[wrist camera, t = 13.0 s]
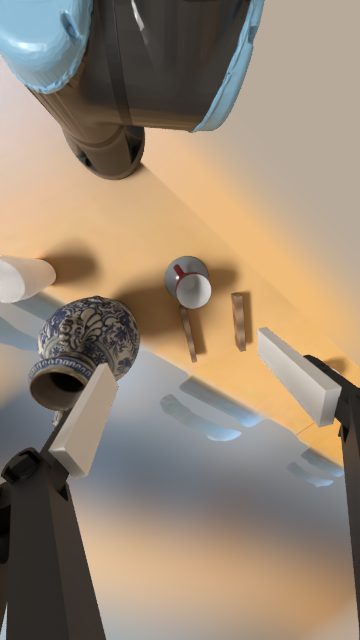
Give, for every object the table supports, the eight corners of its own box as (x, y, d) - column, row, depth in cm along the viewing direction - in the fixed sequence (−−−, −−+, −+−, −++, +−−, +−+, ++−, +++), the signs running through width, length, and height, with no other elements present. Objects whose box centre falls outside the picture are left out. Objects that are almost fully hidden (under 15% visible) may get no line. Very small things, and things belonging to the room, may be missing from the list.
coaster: (159, 262, 44) (159, 262, 43) (204, 251, 44) (204, 251, 43) (170, 304, 49) (170, 304, 48) (210, 295, 49) (211, 295, 48)
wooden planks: (179, 305, 49) (180, 310, 45) (236, 292, 49) (242, 296, 45) (190, 355, 56) (192, 362, 53) (240, 343, 56) (245, 350, 52)
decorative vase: (82, 271, 43) (-35, 308, 18) (152, 290, 47) (139, 343, 21) (77, 340, 51) (-9, 435, 26) (138, 352, 55) (115, 445, 29)
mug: (161, 276, 45) (159, 284, 36) (182, 254, 43) (187, 256, 34) (187, 303, 48) (192, 315, 39) (208, 283, 47) (219, 291, 37)
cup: (68, 276, 44) (36, 286, 33) (45, 296, 45) (6, 312, 34) (38, 246, 41) (-9, 245, 30) (14, 268, 42) (-40, 275, 31)
